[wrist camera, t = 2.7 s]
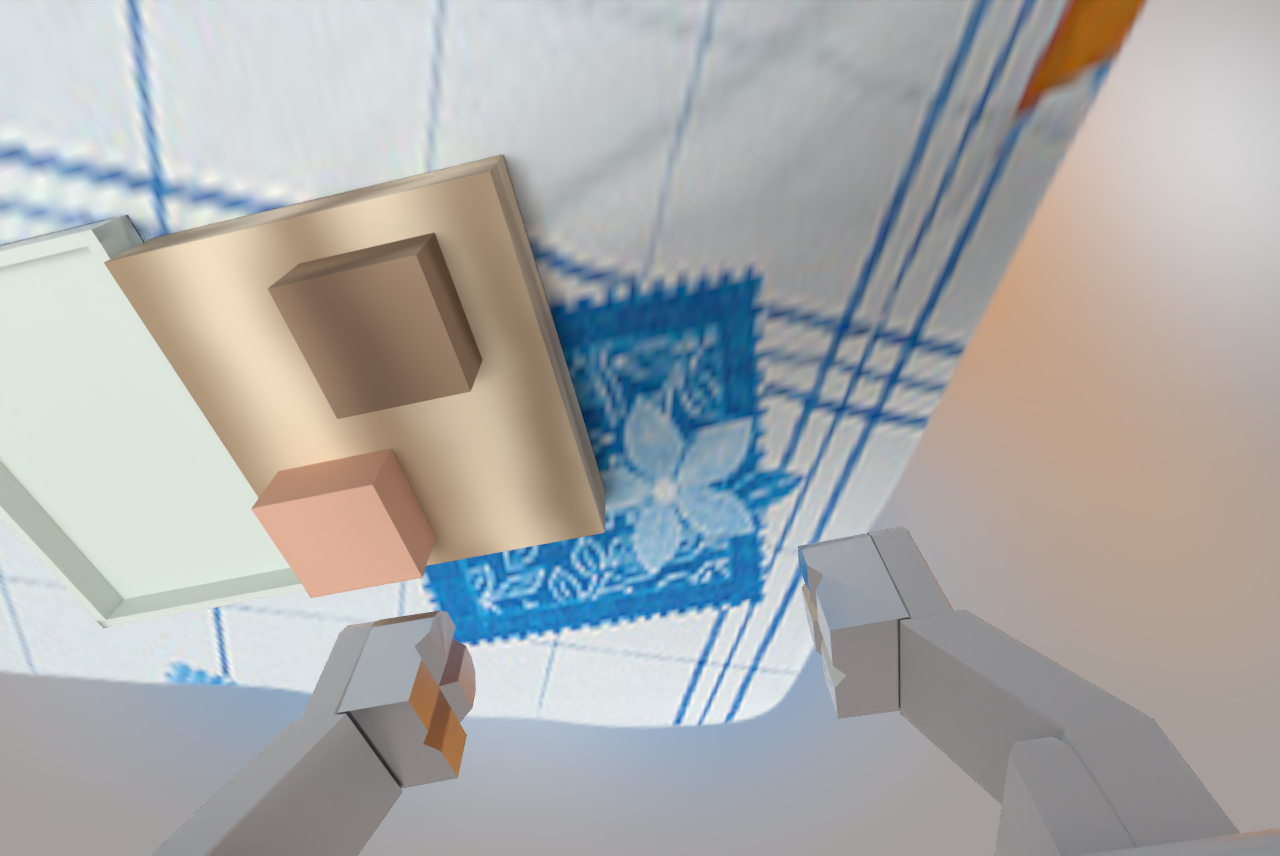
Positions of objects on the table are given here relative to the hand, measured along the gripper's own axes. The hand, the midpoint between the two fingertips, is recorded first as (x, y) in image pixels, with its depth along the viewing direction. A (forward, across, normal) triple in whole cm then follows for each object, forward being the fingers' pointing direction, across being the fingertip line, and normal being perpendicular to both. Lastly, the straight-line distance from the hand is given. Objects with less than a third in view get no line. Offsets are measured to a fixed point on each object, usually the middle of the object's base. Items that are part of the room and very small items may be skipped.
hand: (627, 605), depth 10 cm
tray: (+19, +24, +4) cm, 31 cm away
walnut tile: (+16, +8, 0) cm, 18 cm away
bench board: (+19, +10, +4) cm, 22 cm away
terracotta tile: (+16, +14, +8) cm, 22 cm away
